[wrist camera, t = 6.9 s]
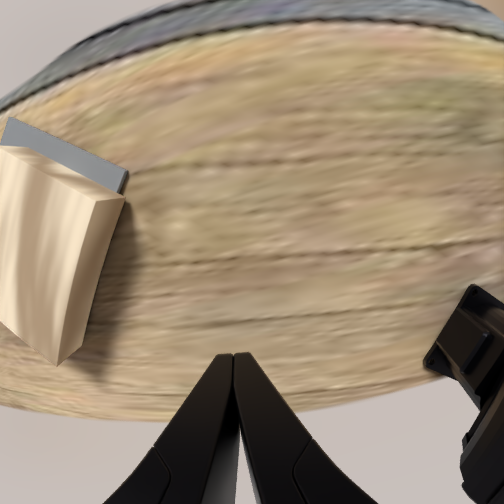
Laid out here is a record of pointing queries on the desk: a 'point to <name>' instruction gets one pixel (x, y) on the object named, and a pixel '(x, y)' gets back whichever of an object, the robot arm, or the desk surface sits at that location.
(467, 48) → the desk surface
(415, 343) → the desk surface
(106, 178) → the mat
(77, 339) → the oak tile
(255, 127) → the desk surface
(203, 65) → the desk surface
